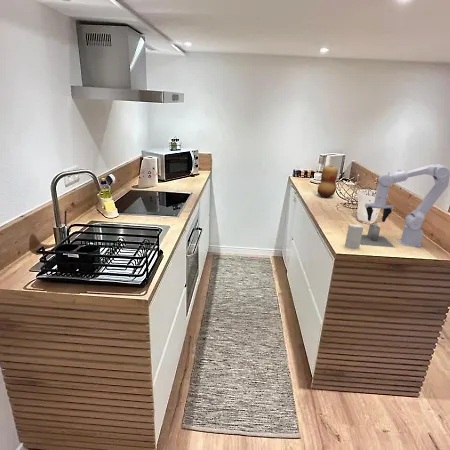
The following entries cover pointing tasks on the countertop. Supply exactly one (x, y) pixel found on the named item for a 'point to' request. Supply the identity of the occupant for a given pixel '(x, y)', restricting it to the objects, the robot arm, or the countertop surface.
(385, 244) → the mat
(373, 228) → the connector
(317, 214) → the countertop surface
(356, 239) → the skincare box
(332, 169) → the butternut squash
